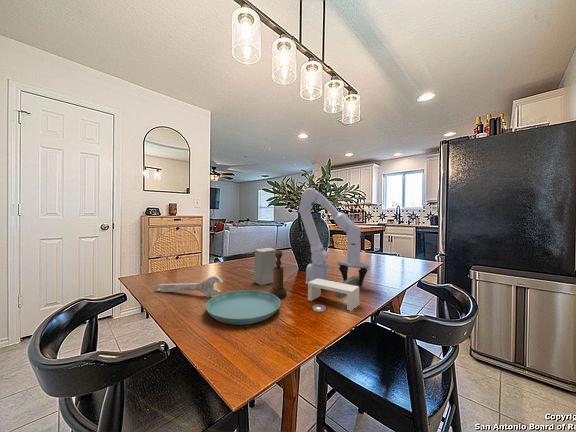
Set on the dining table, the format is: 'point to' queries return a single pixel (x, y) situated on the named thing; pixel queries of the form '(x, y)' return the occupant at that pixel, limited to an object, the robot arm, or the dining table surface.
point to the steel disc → (319, 308)
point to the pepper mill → (278, 278)
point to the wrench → (194, 286)
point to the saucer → (242, 307)
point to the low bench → (350, 290)
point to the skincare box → (264, 265)
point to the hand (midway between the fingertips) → (353, 283)
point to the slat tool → (350, 283)
